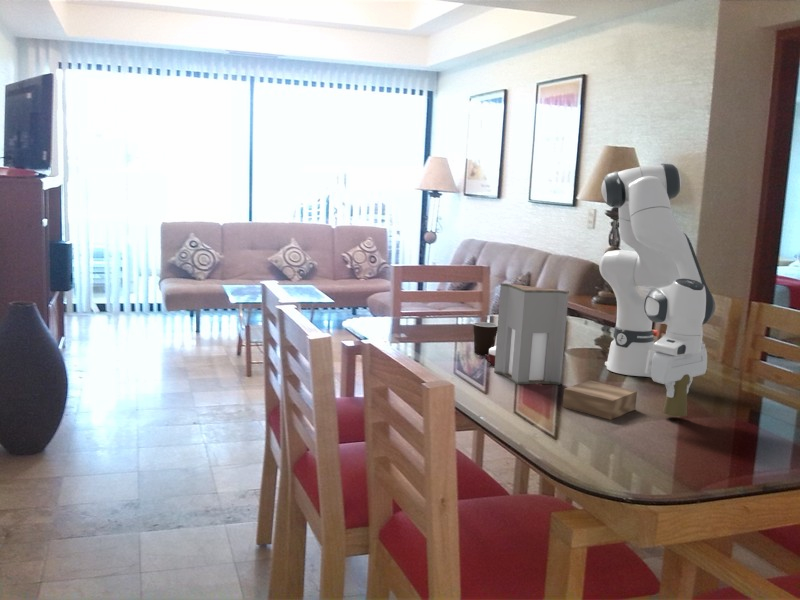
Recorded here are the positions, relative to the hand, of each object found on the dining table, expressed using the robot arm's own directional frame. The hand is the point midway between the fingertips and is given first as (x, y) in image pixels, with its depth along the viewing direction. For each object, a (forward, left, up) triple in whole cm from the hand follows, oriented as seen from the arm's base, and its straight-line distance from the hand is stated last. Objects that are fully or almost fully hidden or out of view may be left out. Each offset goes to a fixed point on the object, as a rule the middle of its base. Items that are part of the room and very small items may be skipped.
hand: (677, 395), depth 197 cm
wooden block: (+11, -16, -6) cm, 20 cm away
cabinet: (+9, -46, -7) cm, 47 cm away
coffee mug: (-8, -79, -7) cm, 80 cm away
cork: (0, 0, -5) cm, 5 cm away
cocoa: (+1, -64, -7) cm, 64 cm away
